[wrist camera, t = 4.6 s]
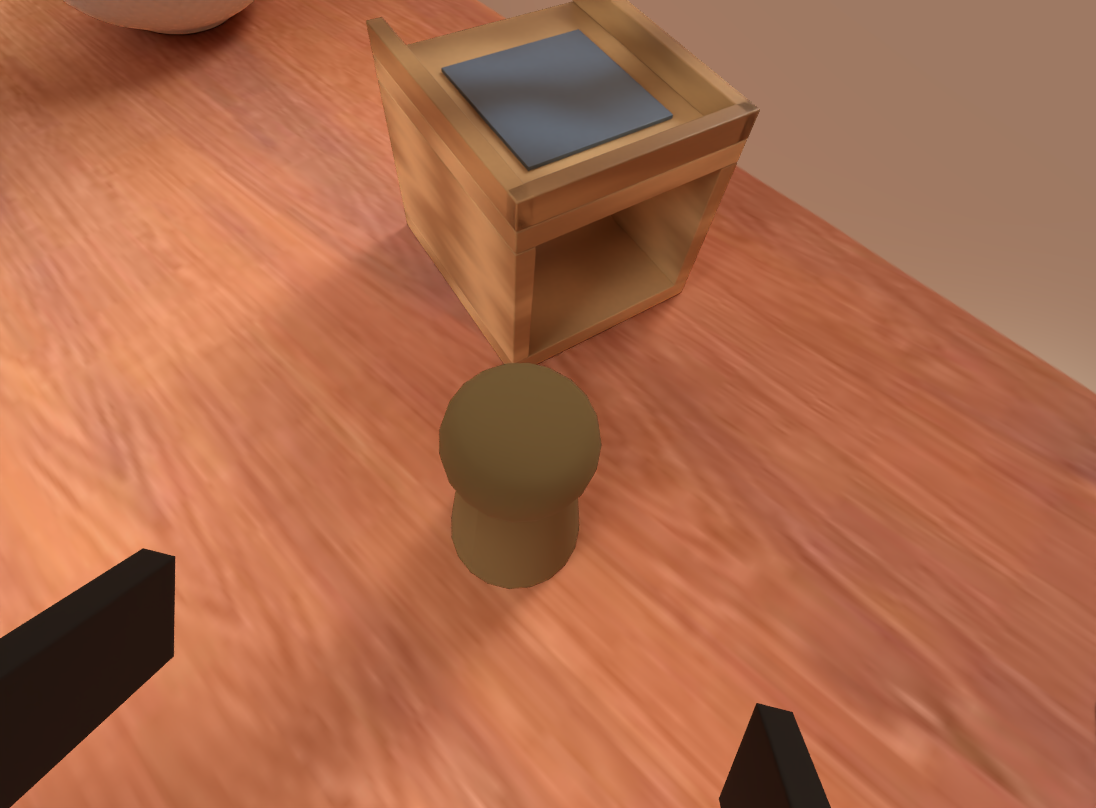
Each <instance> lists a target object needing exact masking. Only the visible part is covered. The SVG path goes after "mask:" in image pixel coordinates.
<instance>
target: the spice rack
mask: <svg viewBox="0 0 1096 808" xmlns="http://www.w3.org/2000/svg"><path fill="white" fill-rule="evenodd" d="M366 24H367V29H368V34H369V39H370V44H371V49H372V53H373V58H374V63H375V68H376V73H377V77H378V79H379V80H378V83H379V88H380V93H381V98H382V102H383V107H384V112H385V117H386V122H387V127H388V132H389V137H390V142H391V147H392V151H393V156H394V161H395V166H396V171H397V176H398V181H399V186H400V191H401V196H402V200H403V205H404V210H405V215H406V220H407V225H408V226H409V228H410V229H411V230H412V232H413V233H414V235H415V236H416V238H417V239H418V241H419V242H420V243H421V245H422V246H423V248H424V249H425V251H426V252H427V254H428V255H429V256H430V258H431V259H432V261H433V262H434V264H435V265H436V267H437V268H438V269H439V271H440V272H441V274H442V275H443V277H444V278H445V280H446V281H447V282H448V284H449V285H450V287H451V288H452V290H453V291H454V293H455V294H456V295H457V297H458V298H459V300H460V301H461V303H462V304H463V306H464V307H465V308H466V310H467V311H468V313H469V314H470V316H471V317H472V319H473V320H474V321H475V323H476V324H477V326H478V327H479V329H480V330H481V332H482V333H483V334H484V336H485V337H486V339H487V340H488V342H489V343H490V345H491V346H492V347H493V349H494V350H495V352H496V353H497V355H498V356H499V358H500V359H501V360H502V362H503V363H504V364H507V363H531V364H538V363H540V362H542V361H544V360H546V359H548V358H550V357H552V356H554V355H556V354H558V353H561V352H563V351H565V350H567V349H569V348H571V347H573V346H575V345H577V344H579V343H581V342H583V341H585V340H587V339H589V338H591V337H593V336H595V335H597V334H599V333H601V332H603V331H605V330H607V329H609V328H611V327H613V326H615V325H617V324H619V323H621V322H623V321H625V320H627V319H629V318H631V317H633V316H635V315H637V314H639V313H641V312H643V311H645V310H647V309H649V308H651V307H653V306H655V305H657V304H659V303H661V302H663V301H665V300H667V299H669V298H671V297H673V296H675V295H677V294H679V293H681V292H682V290H683V287H684V285H685V283H686V280H687V278H688V276H689V273H690V271H691V269H692V266H693V264H694V262H695V259H696V257H697V255H698V253H699V250H700V248H701V246H702V243H703V241H704V239H705V236H706V234H707V232H708V229H709V227H710V225H711V222H712V220H713V218H714V215H715V213H716V211H717V209H718V206H719V204H720V202H721V199H722V197H723V195H724V192H725V190H726V188H727V185H728V183H729V181H730V178H731V176H732V174H733V172H734V169H735V167H736V165H737V161H738V159H739V157H740V155H741V152H742V150H743V148H744V146H745V143H746V141H747V140H746V139H747V138H748V137H749V134H750V132H751V130H752V127H753V125H754V123H755V120H756V118H757V116H758V114H759V111H760V109H759V108H758V107H757V106H755V105H754V104H753V103H752V102H750V101H749V100H748V99H746V98H745V97H744V96H743V95H742V94H740V93H739V92H738V91H737V90H736V89H734V88H733V87H732V86H731V85H730V84H728V83H727V82H726V81H725V80H723V79H722V78H721V77H720V76H719V75H717V74H716V73H715V72H714V71H712V70H711V69H710V68H709V67H708V66H707V65H705V64H704V63H703V62H702V61H700V60H699V59H698V58H697V57H696V56H694V55H693V54H692V53H691V52H689V51H688V50H687V49H686V48H685V47H683V46H682V45H681V44H680V43H678V42H677V41H676V40H675V39H674V38H672V37H671V36H670V35H669V34H668V33H666V32H665V31H664V30H662V29H661V28H660V27H659V26H658V25H657V24H655V23H654V22H653V21H652V20H651V19H649V18H648V17H647V16H645V15H644V14H643V13H642V12H641V11H640V10H638V9H637V8H636V7H635V6H633V5H632V4H631V3H630V2H629V1H627V0H573V2H569V3H566V4H562V5H558V6H554V7H550V8H546V9H542V10H539V11H535V12H531V13H527V14H523V15H519V16H516V17H512V18H508V19H504V20H500V21H497V22H493V23H489V24H485V25H481V26H477V27H474V28H470V29H466V30H462V31H458V32H455V33H451V34H447V35H443V36H439V37H435V38H432V39H428V40H424V41H420V42H416V43H413V44H409V45H406V44H405V43H404V42H403V41H402V40H401V39H400V37H399V36H398V35H397V34H396V33H395V32H394V30H393V29H392V28H391V27H390V26H389V25H388V23H387V22H386V21H385V20H384V19H383V18H382V17H379V18H375V19H371V20H367V21H366Z"/></svg>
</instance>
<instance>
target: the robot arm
mask: <svg viewBox="0 0 1096 808" xmlns="http://www.w3.org/2000/svg"><path fill="white" fill-rule="evenodd" d="M174 607H175V556H171V555H167V554H163V553H159V552H156V551H152V550H148V549H144V548H143V549H141V550H140V551H138V552H137V553H135V554H133V555H132V556H130V557H129V558H127V559H125V560H124V561H122V562H121V563H119V564H118V565H116V566H114V567H113V568H111V569H110V570H108V571H106V572H105V573H103V574H102V575H100V576H98V577H97V578H95V579H94V580H92V581H91V582H89V583H87V584H86V585H84V586H83V587H81V588H79V589H78V590H76V591H75V592H73V593H72V594H70V595H68V596H67V597H65V598H64V599H62V600H60V601H59V602H57V603H56V604H54V605H52V606H51V607H49V608H48V609H46V610H45V611H43V612H41V613H40V614H38V615H37V616H35V617H33V618H32V619H30V620H29V621H27V622H26V623H24V624H22V625H21V626H19V627H18V628H16V629H14V630H13V631H11V632H10V633H8V634H7V635H5V636H3V637H2V638H0V808H10V807H11V806H12V805H13V804H14V803H15V802H16V801H18V800H19V799H20V798H21V797H22V796H23V795H24V794H25V793H26V792H27V791H28V790H29V789H31V788H32V787H33V786H34V785H35V784H36V783H37V782H38V781H39V780H40V779H41V778H42V777H44V776H45V775H46V774H47V773H48V772H49V771H50V770H51V769H52V768H53V767H54V766H55V765H57V764H58V763H59V762H60V761H61V760H62V759H63V758H64V757H65V756H66V755H67V754H68V753H70V752H71V751H72V750H73V749H74V748H75V747H76V746H77V745H78V744H79V743H80V742H81V741H83V740H84V739H85V738H86V737H87V736H88V735H89V734H90V733H91V732H92V731H93V730H94V729H96V728H97V727H98V726H99V725H100V724H101V723H102V722H103V721H104V720H105V719H106V718H107V717H109V716H110V715H111V714H112V713H113V712H114V711H115V710H116V709H117V708H118V707H119V706H120V705H121V704H123V703H124V702H125V701H126V700H127V699H128V698H129V697H130V696H131V695H132V694H133V693H134V692H136V691H137V690H138V689H139V688H140V687H141V686H142V685H143V684H144V683H145V682H146V681H147V680H149V679H150V678H151V677H152V676H153V675H154V674H155V673H156V672H157V671H158V670H159V669H160V668H162V667H163V666H164V665H165V664H166V663H167V662H168V661H169V660H170V659H171V658H172V657H173V656H174ZM719 801H720V806H721V808H831V807H830V804H829V802H828V799H827V797H826V794H825V792H824V789H823V787H822V784H821V782H820V779H819V777H818V774H817V772H816V769H815V767H814V764H813V762H812V759H811V757H810V754H809V752H808V749H807V747H806V745H805V742H804V740H803V737H802V735H801V732H800V730H799V727H798V725H797V722H796V720H795V717H794V715H793V712H790V711H786V710H782V709H778V708H774V707H770V706H766V705H762V704H758V703H756V706H755V708H754V711H753V714H752V716H751V719H750V721H749V724H748V726H747V729H746V731H745V734H744V736H743V739H742V741H741V744H740V747H739V749H738V752H737V754H736V757H735V759H734V762H733V764H732V767H731V769H730V772H729V774H728V777H727V780H726V782H725V785H724V787H723V790H722V792H721V795H720V797H719Z"/></svg>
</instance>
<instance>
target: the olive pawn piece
mask: <svg viewBox="0 0 1096 808" xmlns="http://www.w3.org/2000/svg"><path fill="white" fill-rule="evenodd" d="M600 450H601V438H600V431H599V424H598V419H597V415H596V413H595V411H594V409H593V407H592V405H591V403H590V401H589V399H588V397H587V395H586V394H585V393H584V392H583V391H582V390H581V389H580V388H579V387H578V386H577V385H576V384H575V383H574V382H573V381H572V380H571V379H569V378H567V377H565V376H563V375H561V374H560V373H558V372H556V371H554V370H552V369H550V368H548V367H544V366H540V365H536V364H531V363H507V364H504V365H500V366H497V367H494V368H491V369H488V370H485V371H482V372H481V373H479V374H478V375H476V376H475V377H473V378H472V379H470V380H469V381H467V382H466V383H464V384H463V385H462V387H461V388H460V389H459V390H458V392H457V393H456V394H455V395H454V397H453V398H452V399H451V400H450V402H449V404H448V407H447V410H446V413H445V415H444V418H443V421H442V424H441V427H440V430H439V454H440V457H441V460H442V463H443V466H444V469H445V472H446V474H447V477H448V480H449V483H450V484H451V485H452V486H453V488H454V489H455V490H456V492H455V498H454V504H453V511H452V539H453V542H454V545H455V548H456V551H457V554H458V556H459V558H460V559H461V560H462V562H463V563H464V564H465V565H466V567H467V568H468V569H469V571H470V572H471V573H473V574H474V575H476V576H477V577H479V578H480V579H482V580H483V581H485V582H487V583H488V584H492V585H495V586H499V587H503V588H507V589H514V588H527V587H532V586H534V585H536V584H539V583H541V582H543V581H546V580H548V579H550V578H551V577H552V576H553V575H554V574H556V573H557V572H558V571H559V570H560V569H561V568H562V567H563V566H565V564H566V562H567V561H568V559H569V557H570V555H571V554H572V552H573V550H574V549H575V545H576V540H577V535H578V531H579V511H578V497H580V496H581V495H582V493H583V492H584V490H585V488H586V487H587V485H588V483H589V482H590V480H591V478H592V477H593V475H594V473H595V471H596V469H597V465H598V460H599V455H600Z"/></svg>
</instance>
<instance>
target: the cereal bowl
mask: <svg viewBox="0 0 1096 808" xmlns="http://www.w3.org/2000/svg"><path fill="white" fill-rule="evenodd" d="M63 1H64V2H66V3H67V4H68V5H70V6H72V7H74V8H75V9H77V10H79V11H81V12H83V13H85V14H86V15H88V16H91V17H94V18H96V19H98V20H101V21H104V22H106V23H110V24H114V25H116V26H123V27H126V28H134V29H143V30H149V31H153V32H157V33H164V34H190V33H196V32H201V31H205V30H208V29H211V28H214V27H216V26H218V25H220V24H222V23H224V22H225V21H226V20H228V19H229V18H230V17H231V16H234V15H235V14H236V13H239V12H240V11H242V10H243V9H244V8H246V7H247V6H248V5H250V4H251V3H252V2H253V1H254V0H63Z"/></svg>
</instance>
